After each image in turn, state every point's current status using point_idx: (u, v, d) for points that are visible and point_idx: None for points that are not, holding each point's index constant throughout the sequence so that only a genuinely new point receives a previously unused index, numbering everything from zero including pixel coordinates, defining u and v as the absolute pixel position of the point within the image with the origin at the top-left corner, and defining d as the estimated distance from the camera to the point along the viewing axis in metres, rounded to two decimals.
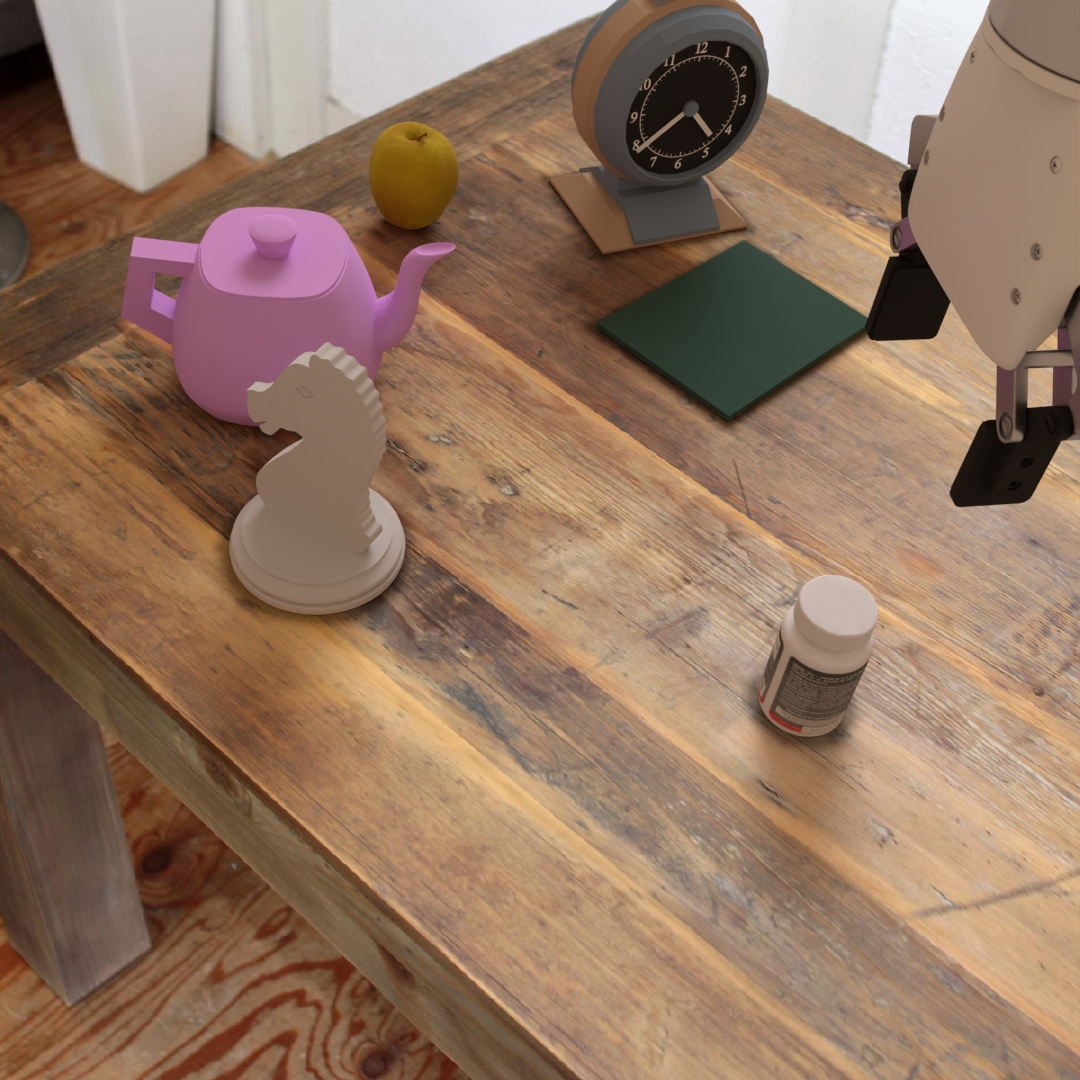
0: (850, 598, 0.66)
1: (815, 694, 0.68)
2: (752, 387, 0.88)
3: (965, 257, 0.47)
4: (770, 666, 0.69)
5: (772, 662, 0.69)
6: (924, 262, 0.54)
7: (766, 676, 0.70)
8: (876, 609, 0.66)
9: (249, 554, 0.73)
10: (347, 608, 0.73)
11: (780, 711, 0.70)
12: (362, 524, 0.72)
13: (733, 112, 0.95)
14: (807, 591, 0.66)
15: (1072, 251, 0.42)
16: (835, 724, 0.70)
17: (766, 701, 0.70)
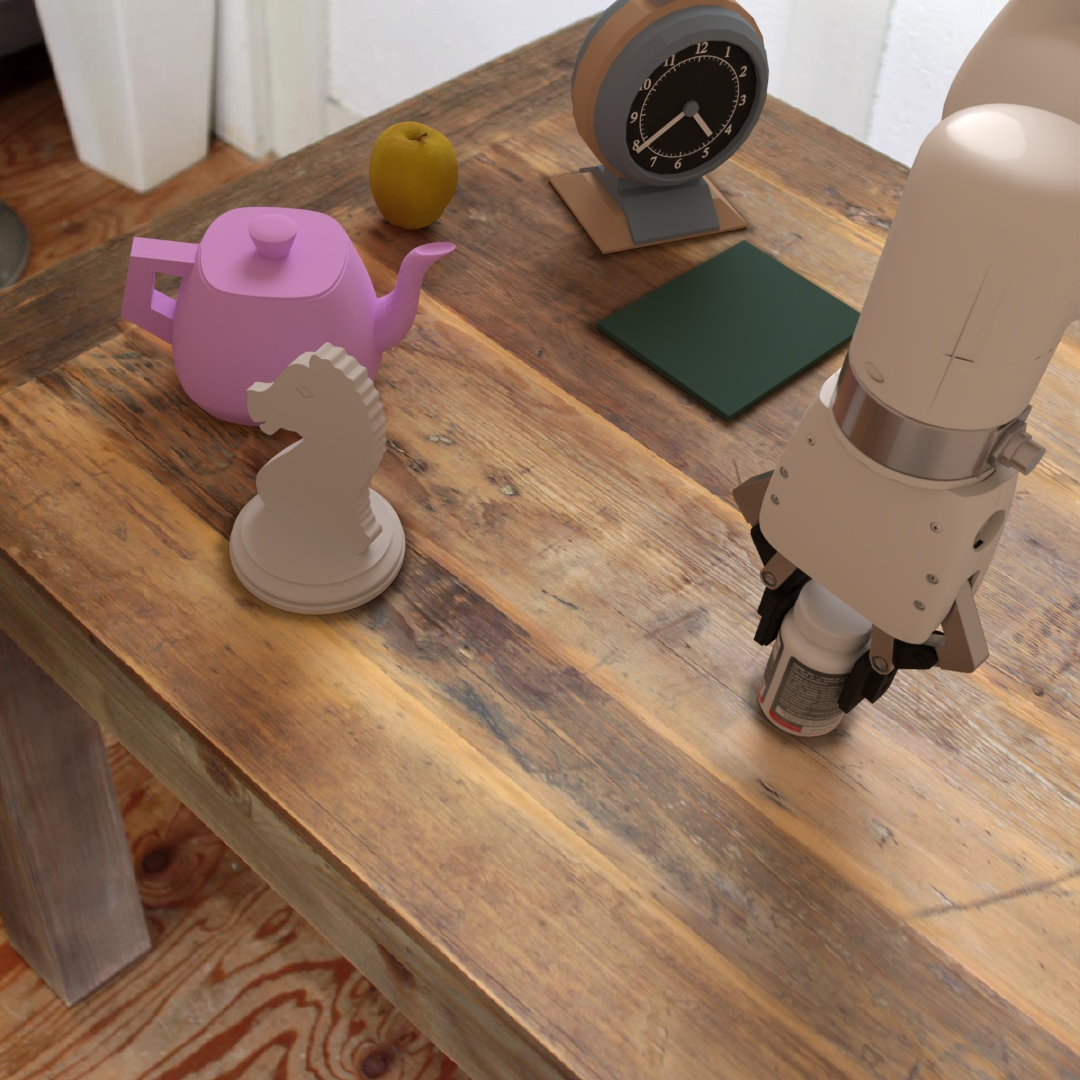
0: None
1: (815, 694, 0.67)
2: (752, 387, 0.88)
3: (852, 575, 0.61)
4: (770, 666, 0.69)
5: (772, 662, 0.69)
6: (793, 586, 0.67)
7: (766, 676, 0.70)
8: None
9: (249, 554, 0.73)
10: (347, 608, 0.73)
11: (780, 711, 0.70)
12: (362, 524, 0.72)
13: (733, 112, 0.95)
14: (807, 591, 0.66)
15: (958, 572, 0.57)
16: (835, 724, 0.70)
17: (766, 701, 0.70)
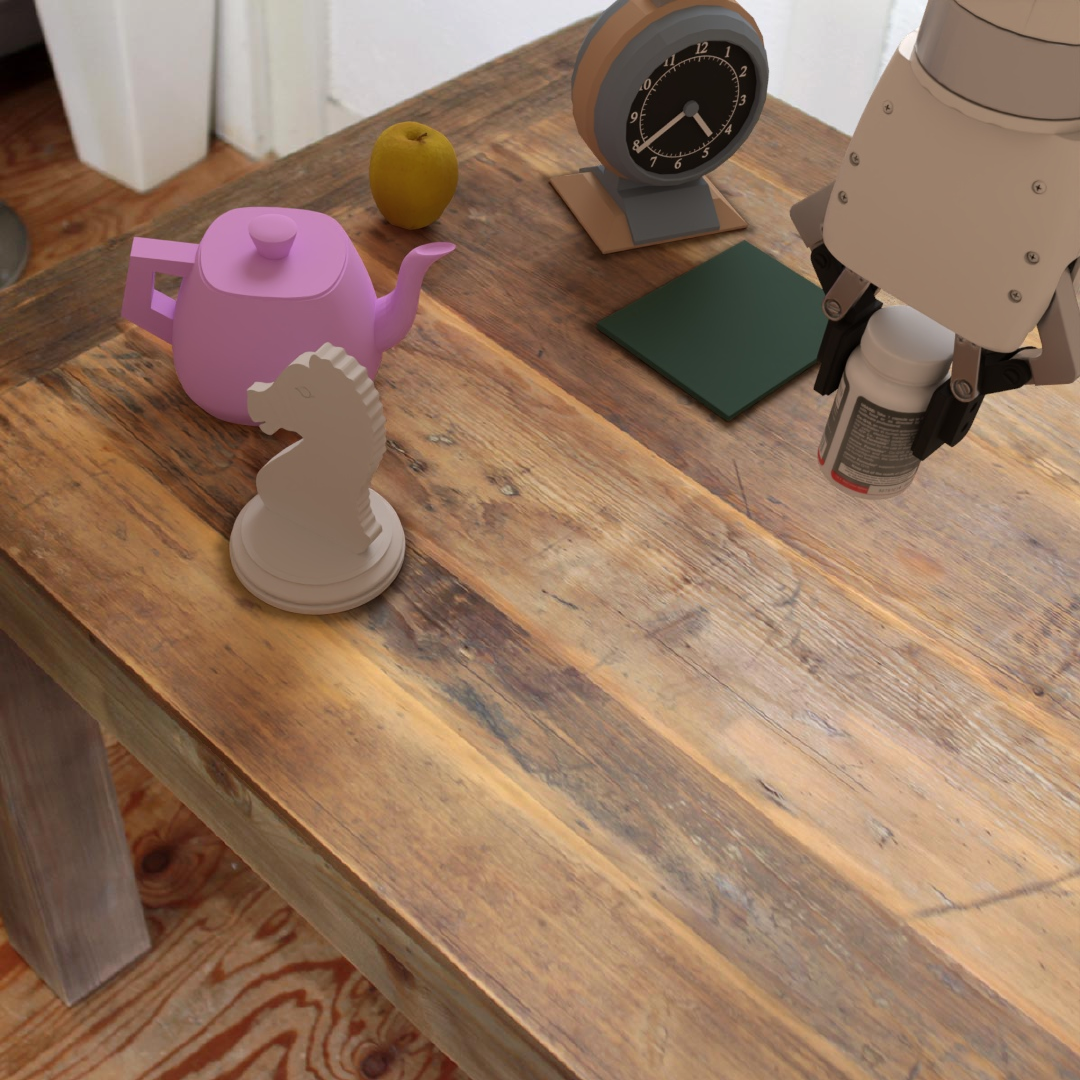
0: (925, 327, 0.59)
1: (886, 441, 0.60)
2: (752, 387, 0.88)
3: (935, 274, 0.53)
4: (832, 418, 0.62)
5: (835, 412, 0.62)
6: (859, 319, 0.60)
7: (827, 432, 0.63)
8: None
9: (249, 554, 0.73)
10: (347, 608, 0.73)
11: (844, 469, 0.62)
12: (362, 524, 0.72)
13: (733, 113, 0.95)
14: (876, 320, 0.59)
15: (1062, 248, 0.50)
16: (905, 485, 0.63)
17: (828, 461, 0.63)
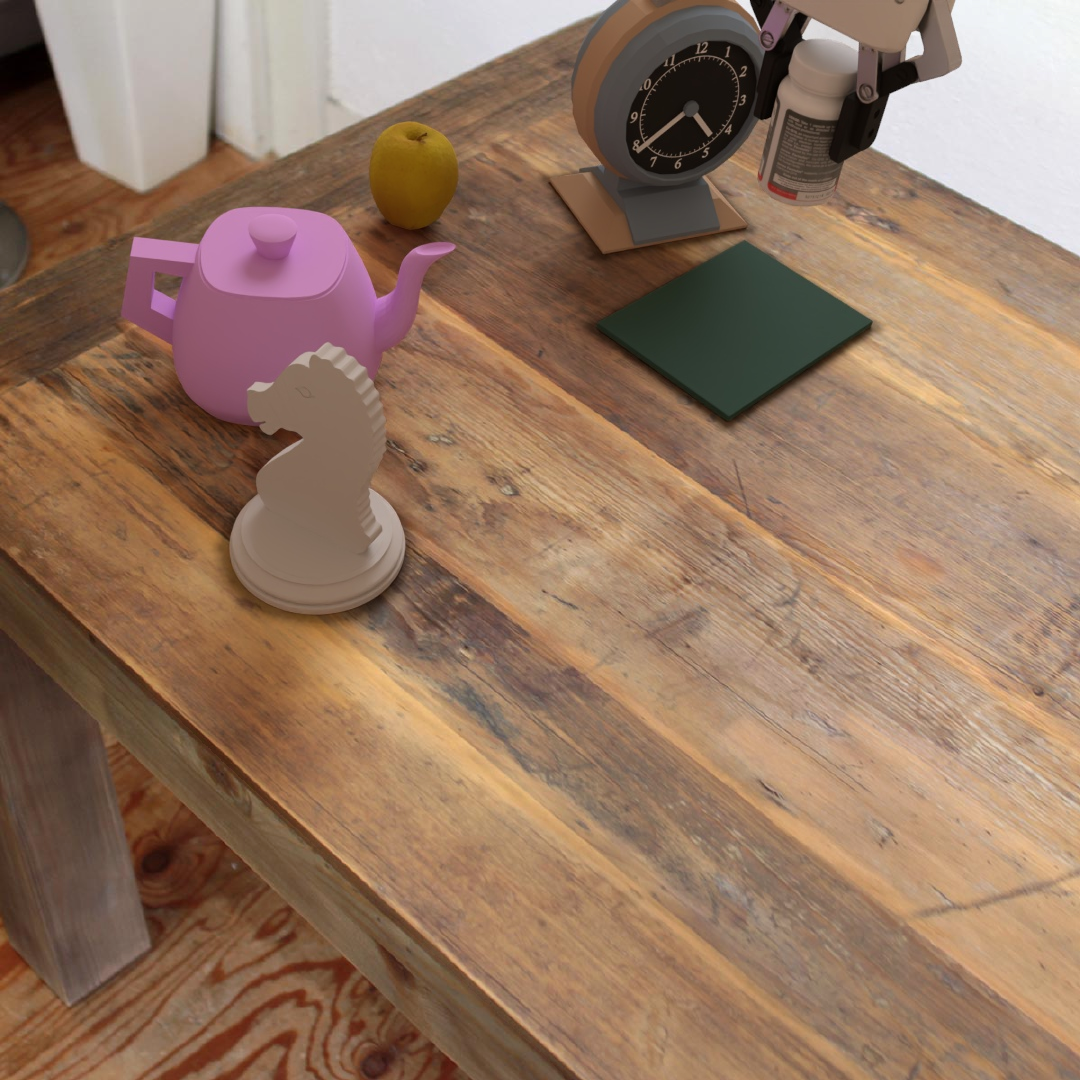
0: (839, 52, 0.74)
1: (809, 148, 0.75)
2: (752, 387, 0.88)
3: None
4: (768, 136, 0.77)
5: (770, 131, 0.77)
6: (788, 51, 0.75)
7: (764, 150, 0.78)
8: None
9: (249, 554, 0.73)
10: (347, 608, 0.73)
11: (777, 178, 0.78)
12: (362, 524, 0.72)
13: (733, 113, 0.95)
14: (801, 46, 0.74)
15: None
16: (827, 194, 0.78)
17: (765, 175, 0.78)
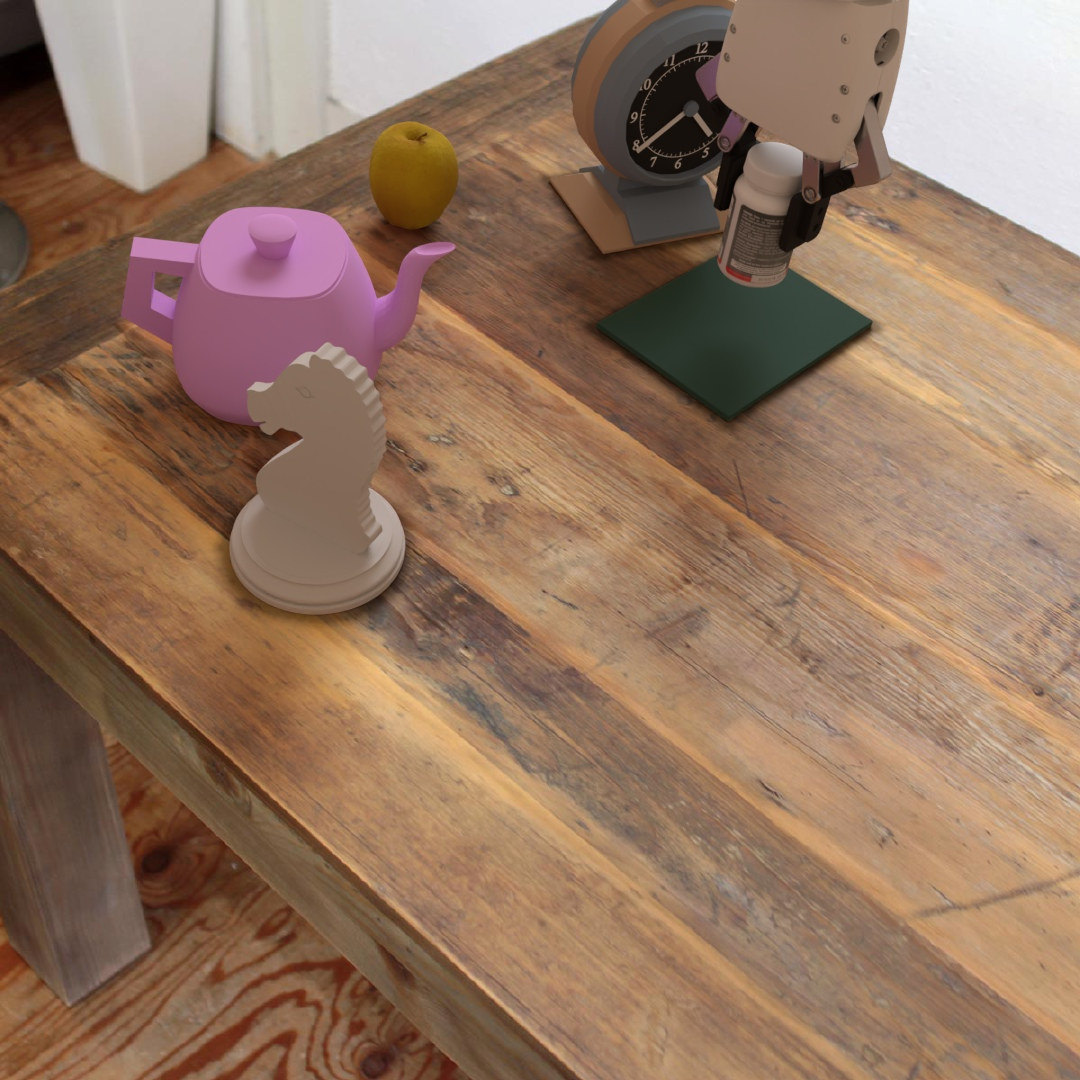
0: (788, 155, 0.84)
1: (761, 238, 0.85)
2: (752, 387, 0.88)
3: (786, 107, 0.78)
4: (726, 226, 0.87)
5: (727, 221, 0.87)
6: (744, 152, 0.85)
7: (723, 237, 0.88)
8: None
9: (249, 554, 0.73)
10: (347, 608, 0.73)
11: (734, 263, 0.87)
12: (362, 524, 0.72)
13: None
14: (754, 150, 0.84)
15: (864, 83, 0.75)
16: (778, 277, 0.88)
17: (723, 259, 0.88)
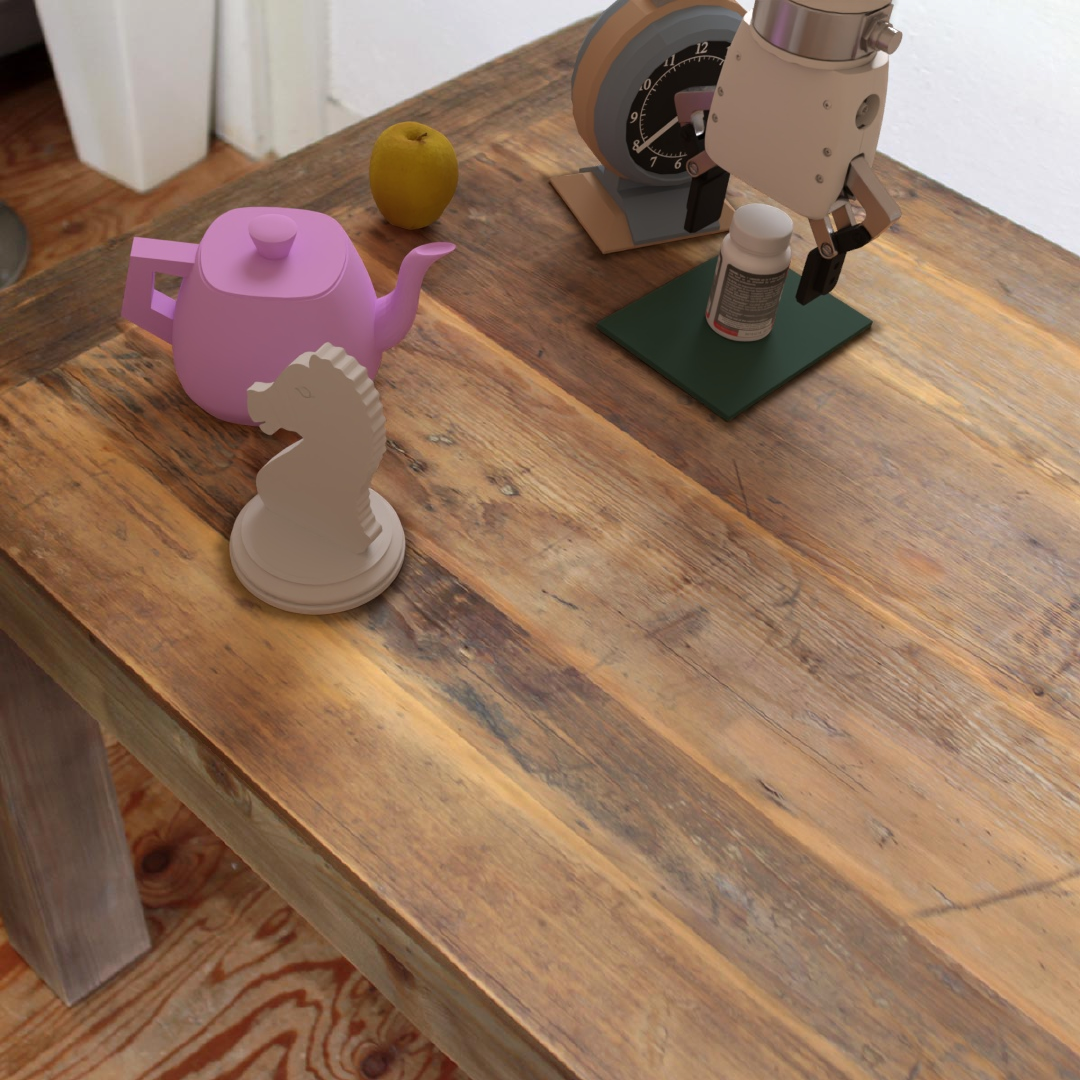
0: (772, 217, 0.87)
1: (747, 296, 0.88)
2: (752, 387, 0.88)
3: (772, 167, 0.81)
4: (713, 283, 0.90)
5: (715, 278, 0.90)
6: (712, 177, 0.88)
7: (711, 293, 0.91)
8: (791, 224, 0.87)
9: (249, 554, 0.73)
10: (347, 608, 0.73)
11: (721, 318, 0.91)
12: (362, 524, 0.72)
13: None
14: (739, 212, 0.87)
15: (846, 146, 0.78)
16: (764, 331, 0.91)
17: (711, 314, 0.91)
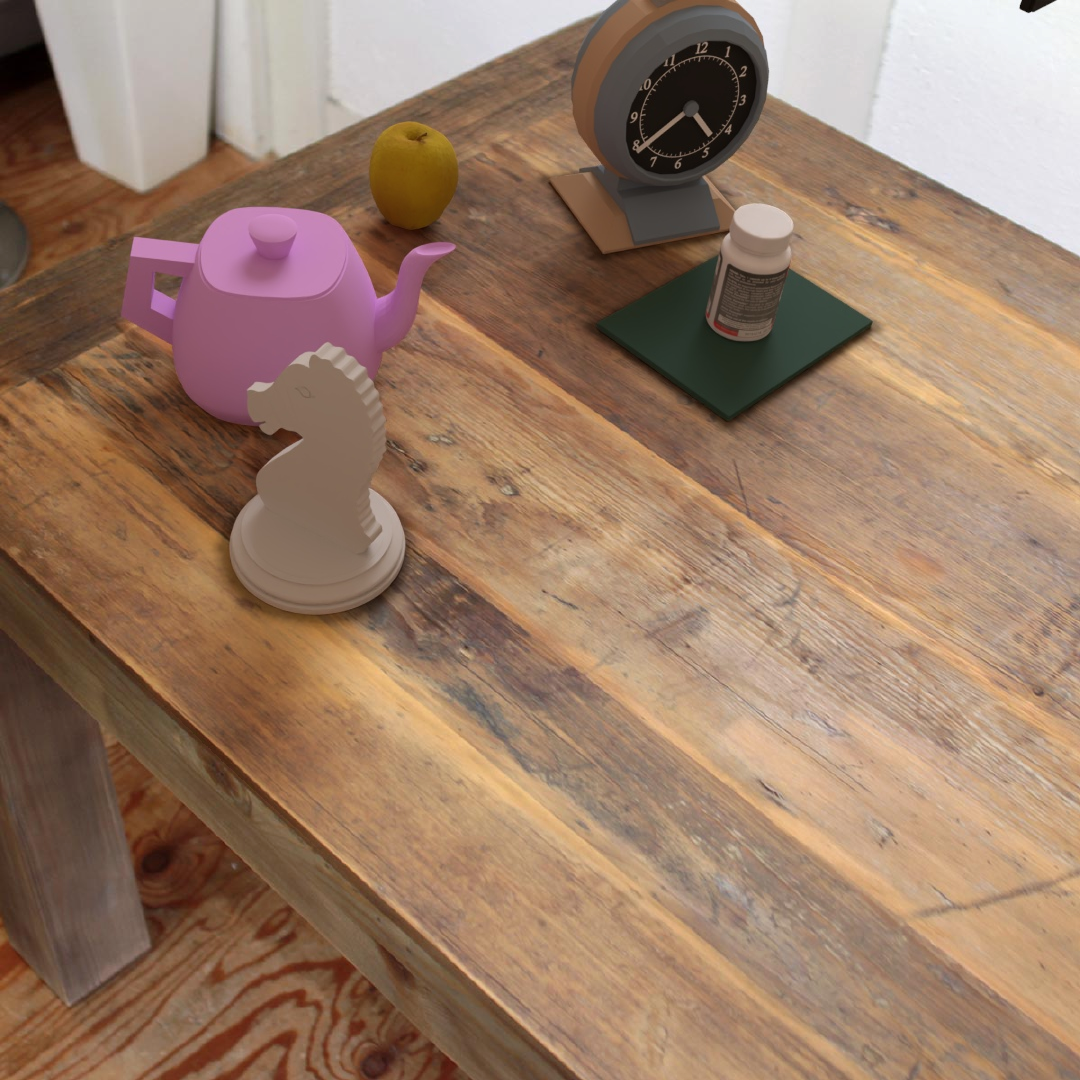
0: (772, 217, 0.87)
1: (747, 295, 0.88)
2: (752, 387, 0.88)
3: None
4: (713, 283, 0.90)
5: (715, 278, 0.90)
6: None
7: (711, 293, 0.91)
8: (792, 224, 0.87)
9: (249, 554, 0.73)
10: (347, 608, 0.73)
11: (721, 318, 0.91)
12: (362, 524, 0.72)
13: (733, 113, 0.95)
14: (739, 211, 0.87)
15: None
16: (764, 331, 0.91)
17: (711, 314, 0.91)
